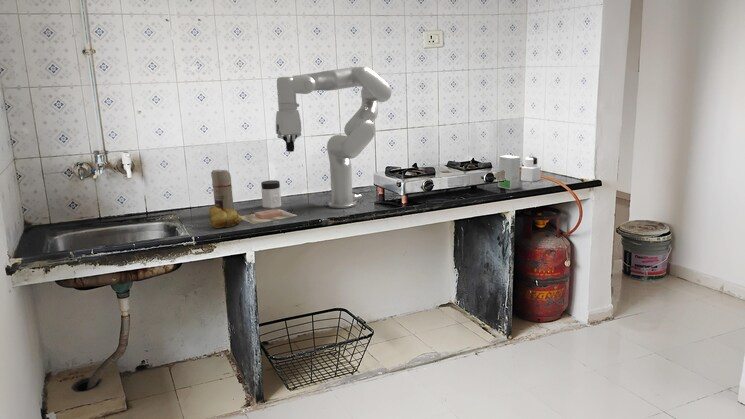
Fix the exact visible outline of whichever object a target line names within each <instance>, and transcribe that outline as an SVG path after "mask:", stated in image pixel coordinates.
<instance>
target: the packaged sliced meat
mask: <svg viewBox="0 0 745 419" xmlns="http://www.w3.org/2000/svg"><path fill="white" fill-rule="evenodd" d="M277 210H278V211H281V212H282V216H277V217H272V218H266V219H260V218H258V217H255V213H251V214H246V215H240V216H241V217H242V221H245V222H248V223H250V224H251V225H257V224H261V223H267V222H273V221H276V220H278V221H279V220H282V219H287V218H293V217H296V216H298V215H297V214H294V213H291V212H288V211H286V210H283V209H280V208H278V209H277Z"/></svg>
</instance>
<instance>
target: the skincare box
mask: <svg viewBox="0 0 745 419" xmlns="http://www.w3.org/2000/svg"><path fill="white" fill-rule="evenodd" d="M498 164H499V166H498V167H499V168H498V171H499V170H504V171H505V174H506V181H504V182H499V181H498V182H497V186H498V187H497V188H501V189H506V190H515V189H519V188H520V175H521V172H520V171H521V156H517V155H511V154H505V155H500V156H499V162H498Z"/></svg>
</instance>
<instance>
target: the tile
mask: <svg viewBox="0 0 745 419" xmlns="http://www.w3.org/2000/svg"><path fill="white" fill-rule="evenodd" d="M254 214H255V217H258V218H260V219H266V218H272V217H277V216H282V212H281V211H278V209H275V208H271V209H267V210H262V211H256V212H254Z"/></svg>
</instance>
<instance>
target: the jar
mask: <svg viewBox="0 0 745 419" xmlns="http://www.w3.org/2000/svg"><path fill="white" fill-rule="evenodd" d="M260 185H261V198H262V199H261V200H262V202H261V203H262V208H268V209H269V208H270V209H274V208H278V207H281V206H282V196H281V182H280V180H275V179H274V180H264V181H261V184H260Z"/></svg>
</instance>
